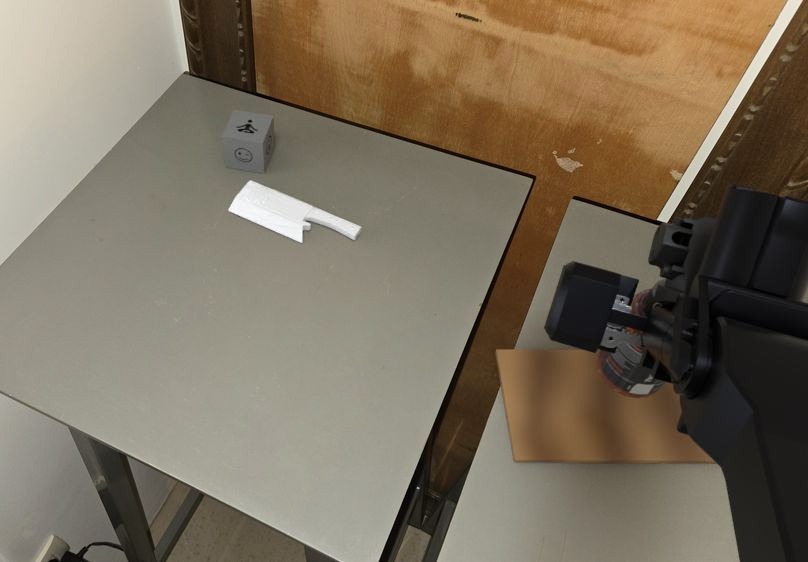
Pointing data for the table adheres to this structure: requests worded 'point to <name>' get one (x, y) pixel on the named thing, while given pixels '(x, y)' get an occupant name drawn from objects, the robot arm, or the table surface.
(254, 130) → the dice cube
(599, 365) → the supplement bottle
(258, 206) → the white plastic blade
